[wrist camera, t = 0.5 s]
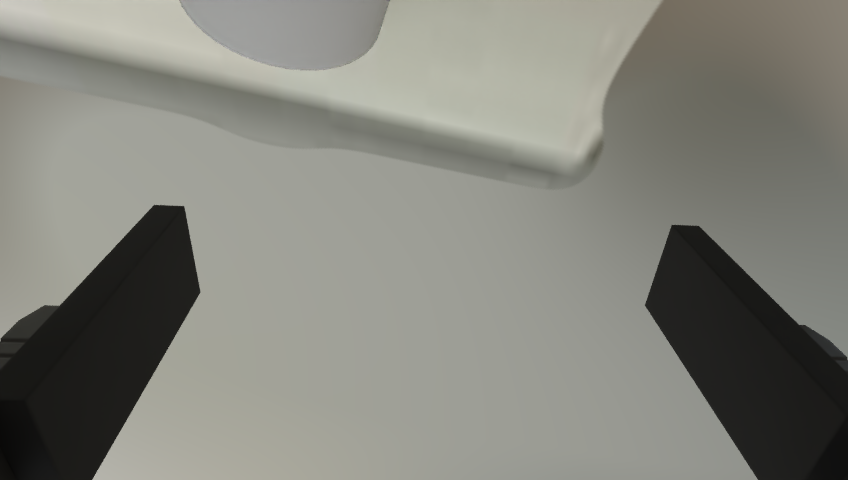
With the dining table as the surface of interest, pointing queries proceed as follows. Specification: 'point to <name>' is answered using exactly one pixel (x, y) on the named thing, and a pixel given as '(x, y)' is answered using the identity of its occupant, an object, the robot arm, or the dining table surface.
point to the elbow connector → (292, 29)
